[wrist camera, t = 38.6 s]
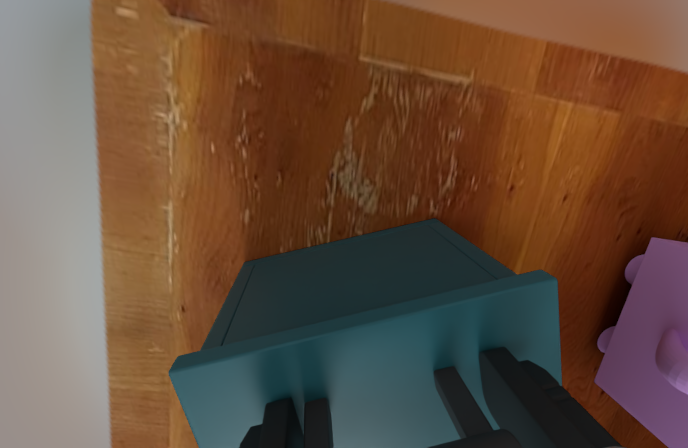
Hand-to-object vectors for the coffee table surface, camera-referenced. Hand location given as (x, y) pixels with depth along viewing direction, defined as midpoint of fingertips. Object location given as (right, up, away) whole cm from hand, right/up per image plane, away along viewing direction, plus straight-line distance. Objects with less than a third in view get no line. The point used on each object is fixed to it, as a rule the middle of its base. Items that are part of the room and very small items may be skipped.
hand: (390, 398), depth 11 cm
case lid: (+1, -4, +2) cm, 5 cm away
